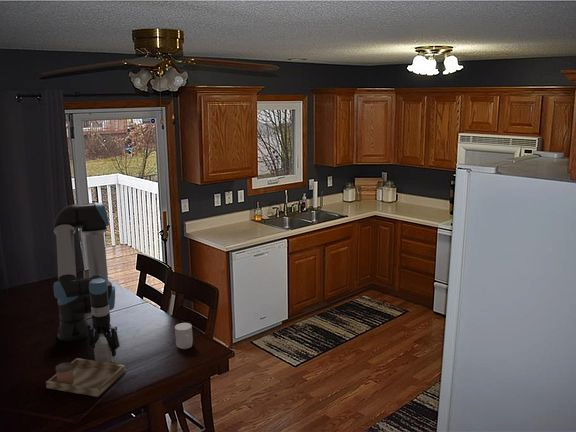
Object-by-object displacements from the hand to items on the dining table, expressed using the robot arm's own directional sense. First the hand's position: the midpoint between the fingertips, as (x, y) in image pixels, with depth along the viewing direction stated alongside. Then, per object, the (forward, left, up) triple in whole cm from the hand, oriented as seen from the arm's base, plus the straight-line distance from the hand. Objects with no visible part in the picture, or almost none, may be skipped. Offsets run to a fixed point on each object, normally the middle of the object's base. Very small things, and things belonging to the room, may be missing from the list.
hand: (105, 361), depth 239 cm
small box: (0, 0, 0) cm, 0 cm away
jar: (-5, -21, +1) cm, 21 cm away
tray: (+2, -16, 0) cm, 16 cm away
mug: (+28, +23, -1) cm, 36 cm away
